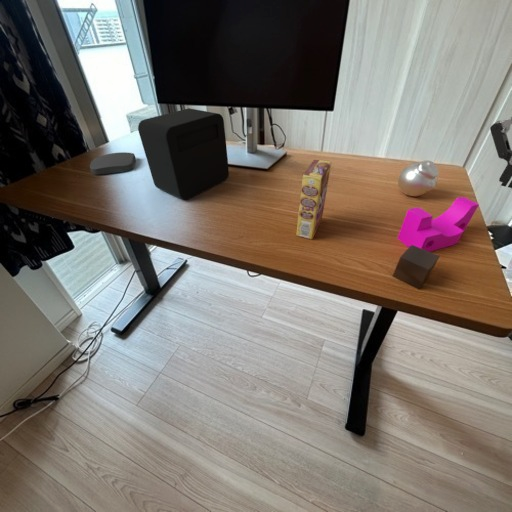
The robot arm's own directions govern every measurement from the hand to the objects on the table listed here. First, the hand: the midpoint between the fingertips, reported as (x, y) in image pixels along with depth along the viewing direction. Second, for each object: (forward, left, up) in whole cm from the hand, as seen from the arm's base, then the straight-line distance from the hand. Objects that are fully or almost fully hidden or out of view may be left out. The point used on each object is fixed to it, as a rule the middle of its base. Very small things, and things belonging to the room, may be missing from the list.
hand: (507, 185), depth 47 cm
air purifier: (+72, +20, -15) cm, 77 cm away
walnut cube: (+6, +16, -15) cm, 22 cm away
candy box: (+30, +16, -15) cm, 37 cm away
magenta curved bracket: (+6, 0, -15) cm, 17 cm away
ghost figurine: (+18, -18, -15) cm, 30 cm away
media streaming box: (+108, +32, -15) cm, 113 cm away
